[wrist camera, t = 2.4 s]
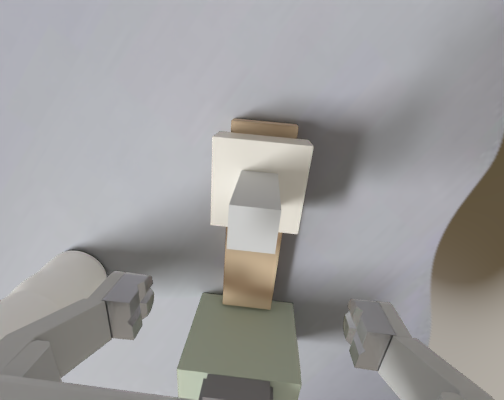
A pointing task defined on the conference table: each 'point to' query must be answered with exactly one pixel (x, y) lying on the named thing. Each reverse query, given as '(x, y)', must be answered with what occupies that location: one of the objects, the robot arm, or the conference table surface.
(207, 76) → the conference table surface
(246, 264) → the block
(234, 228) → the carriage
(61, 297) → the water bottle
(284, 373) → the end cabinet
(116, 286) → the robot arm
